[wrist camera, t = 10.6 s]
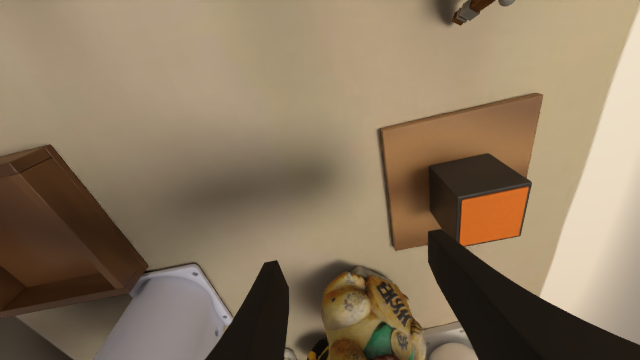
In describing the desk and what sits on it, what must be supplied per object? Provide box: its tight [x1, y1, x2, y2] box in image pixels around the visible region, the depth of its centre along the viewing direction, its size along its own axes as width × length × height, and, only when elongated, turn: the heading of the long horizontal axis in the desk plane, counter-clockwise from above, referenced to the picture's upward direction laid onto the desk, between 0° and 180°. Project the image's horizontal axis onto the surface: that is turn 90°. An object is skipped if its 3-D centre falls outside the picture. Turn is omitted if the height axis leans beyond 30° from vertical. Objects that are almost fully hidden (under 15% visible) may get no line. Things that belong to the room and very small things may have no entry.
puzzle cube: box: [429, 153, 532, 247], centre depth 19 cm, size 4×4×4 cm
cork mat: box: [380, 93, 543, 251], centre depth 21 cm, size 12×11×1 cm
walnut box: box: [0, 145, 148, 318], centre depth 21 cm, size 13×13×3 cm
